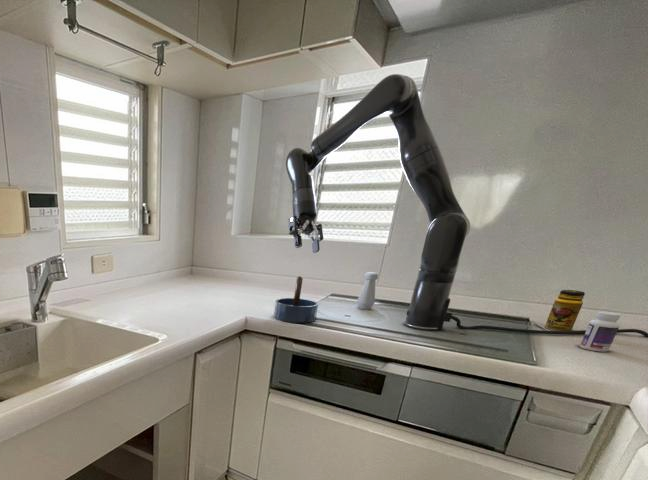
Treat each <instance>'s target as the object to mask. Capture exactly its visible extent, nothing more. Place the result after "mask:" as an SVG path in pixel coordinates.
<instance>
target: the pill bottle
mask: <svg viewBox="0 0 648 480" xmlns="http://www.w3.org/2000/svg"><path fill="white" fill-rule="evenodd" d="M621 316H622V314H621V313H617V312H611V311H598V312H597V314H596V316H595V317H596V318H595V319H592V320H590V321H589V323H588V325H587V328H586V329H585V330H586V332H585V334H583V337H582V339H581V342H580V343H579V347H580V348H581V349H585V350H588V351H592V352H599V353H600V352H602V353H605V352H608V351H609V350H610V348H611V346H612V344H613V342H614V341H615V338H616V335H617V334H618V333H617V331H618V329H620V326H621V325H620V323H619V322H617V321H619V320H620V318H621Z"/></svg>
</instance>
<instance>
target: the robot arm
mask: <svg viewBox="0 0 648 480" xmlns="http://www.w3.org/2000/svg"><path fill="white" fill-rule="evenodd" d="M383 114H386V115H388V117H389V119H390V120H391V122H392V124H393V126H394V129H395V130H396V133H397V138H398V152H399V153H398V154H399V161H400V164H401V167H402V170H403V173H404V175H405V177H406V181H408V183H409V186H410V187H411V189H412V190H413V192H414V194H415V195H416V196H417V198H418V199H419V200H420V202H421V203H422V205H423V207H424V209H425V212H426V214H427V215H426V216H427V218H428V222H429V224H430V225H429V226H428V228H427V231H426V235H425V238H424V244H423V247H422V252H421V255H420V265H419V269H418V273H417V276H416V280H415V284H414V288H413V292H412V296H411V299H410V303H409V306H408V307H409V308H408V310H406V318H405V321H404V325H405V326H407V327H409V328H412V329H413V328H414V329H418V330H423V331H442V329H443V327H444V324H445V323H450V322H451V320H453V321H455V323H456V327H457V328H459V329H460V330H480V329H481V330H493V331H503V332H512V333H523V334H536V335H537V334H539V335H584V334H585V332H586V330H587V329H583V330H573V331H547V330H545V329H544V330H542V329H541V330H540V329H527V328H526V329H525V328H513V327H505V326H502V327H501V326H494V325H471V326H465V325H462V324H461V323H462V322H461V319H460V318H458V317H457V316H455V315H453V313H452V312H451V311H450V310H448V309H449V306H450V303H451V298H450V294H451V291H452V289H453V288H452V287H453V284H454V281H455V279H456V274H457V271H458V268H459V264H460V258H461V254H462V250H463V247H464V244H465V240H466V238H467V236H468V235H469V233H470V231H471V221H470V220H469V218H468V217H467V215H466V213H465V211H464V210H463V208H462V207H461V205H460V203H459V200H458V199H457V197H456V195H455V193H454V190H453V186H452V183H451V178H450V175H449V172H448V168H447V165H446V162H445V159H444V156H443V153H442V152H441V149H440V146H439V145H438V142H437V140H436V138H435V135H434V134H433V131H432V129H431V127H430V125H429V122H428V120H427V119H426V117H425V113H424V110H423V106H422V102H421V100H420V94H419V91H418V87H417V85H416V82H415V80H414V79H413V78H412V77H410V76H408V75H404V74H399V73H393V74H389V75H386V76H385V77H383V78H382V80H380V81H379V82H378V83H377V84H376V85H375V86H374V87H373V88H372V89H371V90H370V91H368V93H367V94H366V95H365V96H364V97H363V98H362V99H361V100H359V102H358V103H356V105H354V106H353V107H352V108H351V109H350V110H349V111H348V112H347V113H345V114H344V115H343V116H342V117H341V118H340V119H338V120H337V121H335V123H333V124H332V125H331V126H329V127H328V128H326V129H325V130H324V131H322V132H321V133H320V134H318V135H317V136H316V137H315V138H313V140H311V143H310V149H311V151H309V152H308V151H307V150H305V149H303V148H301V147H294V148H293V149H291V150H290V151H289V152H288V153H287V155H286V158H285V169H286V172H287V175H288V178H289V181H290V183H291V192H292V194H291V195H292V200H291V203H292V216H291V217H289V218H288V234H289V235H290V236H292V237H293V240H294V247H295V249H299V248H301V247H302V246H303V238H302V234H304V235H306V237H307V238H308V239H309V240H310V241H311V249H312V253H314V254H316V253H318V252H319V251H320V250H321V249H320V242H322V241H323V240H324V233H323V232H324V231H323V224H322V223H318V224H317V223H316V218H317V216H318V213H317V203H316V202H317V200H316V194H315V189H314V188H315V187H314V179H313V178H314V177H313V176H312V175H311V174H310V173H312V172H313V171H314V170H316V168H317V167H318V166H319V165H320V164H321V163H322V162H323V161H324V159H326V157H327V156H329V155H331V154H332V153H333V152H334V151H336V150H337V149H339V148H340V147H341V146H343V145H344V144H345V143H346V142H348V141H349V140H350V139H351V137H352V136H353V135H354V134H355V133H356V132H357V131H358V130H359V129H360V128H362V127H363V126H364V125H365V124H367V123H368V122H370V121H372V120H374V119H375V118H377V117H380V116H381V115H383ZM622 333H623V334H624V333H634V334H639V335H642V336H644V337H645V338H648V332H647V331H646V330H642V329H637V328H621V329H620V328H619V329H618V331H617V333H616V334H622Z"/></svg>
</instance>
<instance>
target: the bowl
mask: <svg viewBox="0 0 648 480" xmlns="http://www.w3.org/2000/svg"><path fill="white" fill-rule="evenodd" d="M293 301H294V297H285V298H278V299H275V303H274V310H273V317H274V318H276V319H277V320H279V321H281V322H284V323H285V322H286V323H292V324H309V323H312V322H314V321H316V319H317V314H318V307H319V303H318V302H317V301H314V300H312V299H311V300H310V299H307V298H306V299H305V298H300V300H299V306H293Z"/></svg>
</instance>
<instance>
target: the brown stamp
mask: <svg viewBox="0 0 648 480" xmlns="http://www.w3.org/2000/svg"><path fill="white" fill-rule="evenodd" d="M303 279H304V278H303V276H301V275H299V276H297V277H296V281H295V282H296V283H295V289H294V295H293V298H294V301H293V306H299V300H300V299H301V294H302V293H301V292H302V287H303Z"/></svg>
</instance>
